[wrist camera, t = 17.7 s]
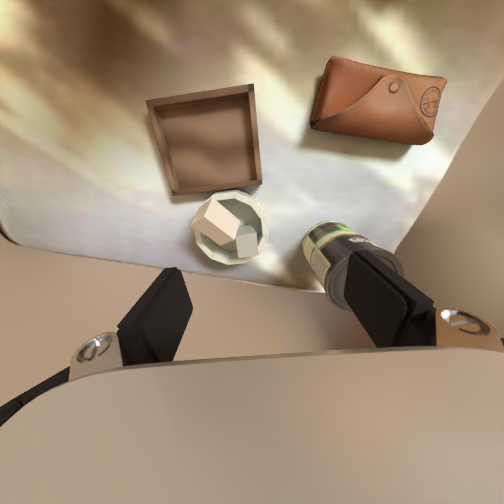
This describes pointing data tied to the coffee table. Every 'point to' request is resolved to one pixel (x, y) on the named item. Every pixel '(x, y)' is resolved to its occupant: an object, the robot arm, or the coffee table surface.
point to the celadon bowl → (247, 213)
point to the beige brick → (216, 222)
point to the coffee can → (339, 257)
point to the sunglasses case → (377, 102)
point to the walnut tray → (208, 139)
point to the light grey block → (246, 241)
